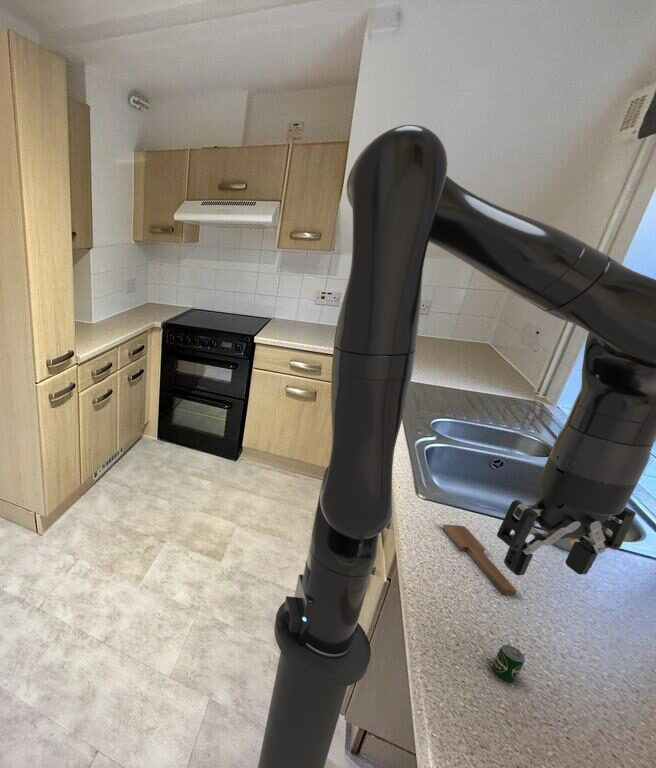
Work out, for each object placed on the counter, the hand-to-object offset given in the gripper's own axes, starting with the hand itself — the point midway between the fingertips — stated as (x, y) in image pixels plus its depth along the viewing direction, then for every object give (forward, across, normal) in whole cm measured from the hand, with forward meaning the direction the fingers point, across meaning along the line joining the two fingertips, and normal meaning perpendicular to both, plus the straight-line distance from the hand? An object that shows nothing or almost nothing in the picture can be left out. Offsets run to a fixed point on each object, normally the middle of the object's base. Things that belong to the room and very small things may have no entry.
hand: (544, 570), depth 55 cm
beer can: (+21, -2, 0) cm, 21 cm away
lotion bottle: (+21, -39, -28) cm, 53 cm away
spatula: (+21, -16, -23) cm, 35 cm away
